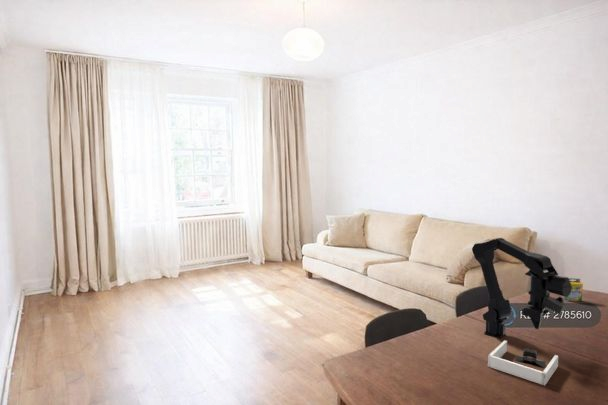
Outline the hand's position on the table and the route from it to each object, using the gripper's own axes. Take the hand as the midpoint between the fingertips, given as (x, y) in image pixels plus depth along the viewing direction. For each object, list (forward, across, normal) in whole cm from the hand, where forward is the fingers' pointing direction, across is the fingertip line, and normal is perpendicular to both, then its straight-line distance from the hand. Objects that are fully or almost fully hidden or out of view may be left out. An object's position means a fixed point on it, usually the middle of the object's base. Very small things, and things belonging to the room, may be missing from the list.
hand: (537, 328), depth 151 cm
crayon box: (+9, +77, +3) cm, 77 cm away
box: (+9, -15, 0) cm, 18 cm away
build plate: (+10, -10, -1) cm, 14 cm away
